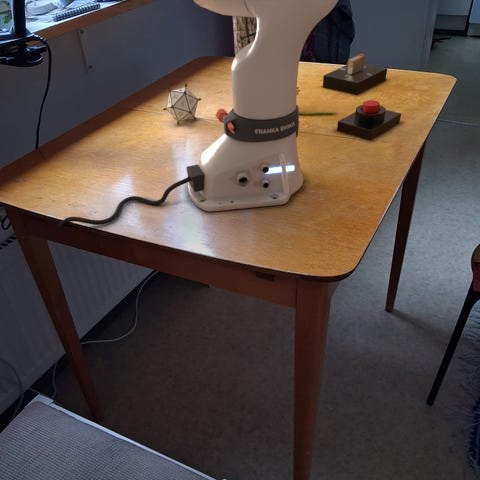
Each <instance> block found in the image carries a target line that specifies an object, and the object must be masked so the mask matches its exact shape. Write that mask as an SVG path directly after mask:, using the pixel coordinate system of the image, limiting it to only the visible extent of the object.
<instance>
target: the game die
mask: <svg viewBox="0 0 480 480" xmlns="http://www.w3.org/2000/svg"><path fill="white" fill-rule="evenodd" d="M166 90H167V92H168V97H167V101H166V107H164V108H163V109H162V111H167V112H168V113H169V114H170V115H171V116H172V117H173V118H174V119H175V120H176V124H177V126H179V125H180V122H183V121H187V120H190V119H193V120H196V121H197V117H196V116H195V115H196V111H197V108H198V105H199V104H198V103H199V102H200V101H201V100H202V98H201V97H199V98H197V96H196V95H195V94H194V93H193V92H192V90H190V89H189V88H188V83H187V82H186V83H185V84H184V86H183V87H179V88H175V89H171V88H167V89H166Z"/></svg>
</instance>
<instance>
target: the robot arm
mask: <svg viewBox="0 0 480 480" xmlns="http://www.w3.org/2000/svg"><path fill="white" fill-rule="evenodd" d="M193 2H194V3H195V4H196V5H197V6H199V7H201V8H204V9H206V10H208V11H211V12H213V13H217V14H220V15H222V16H232V17H233V16H243V17H254V18H256V19H257V30H256V36H255V39H254V41H253V42H251V43H250V44H248V45H247V46H245V47H244V48H242V49H241V50H240V51H239V52H238V53H237V55H236V56H234V58H233V60H232V63H231V66H230V73H231V74H230V76H231V90H232V91H231V92H232V105H233V107H232V108H231V110H230V111H229V112H227V111H226V109H224V108H219V109H218V110H217V111H216V114H215V117H216V119H217V120H218V122H219V123H221V124H223V132H222V133H221V134H220V135H219V136H218V137H217V138H215V140H214V141H213V142H212V143H211V144H209V146H208V147H206V148H205V149H204V150H203V151H202V152H201V154H200V155H199V158H198V163H197V164H194V165H187V166H185V167H186V175H187V177H185V178H182V179H180V180H179V181H176V182H174V183H173V184H171V185H170V186H168V187H167V188H166V189H165V191H164V193H163V194H162V196H161V198H159V199H158V200H151V199H148V198H145V197H143V196H140V195H139V196H138V195H135V196H134V195H132V196H128V197H125V198H124V199H122V200H121V201H120V202H119V203H118V205H117V206H116V208H115V210H114V213H112V215H111V216H109V217H107V218H104V219H90V218H86V217H82V216H81V217H80V216H68V217H65V218H64V219H62V220H61V221H60V223H58V225H57V227H58V228H63V227H65V225H67V224H68V223H71V222H77V223H83V224H87V225H93V226H95V225H96V226H101V225H102V226H103V225H107V224H110V223H111V222H113V221H115V220H116V219H117V218H118V217H119V215H120V214H121V212H122V209H123V207H124V206H125V205H126V204H127V203H130V202H134V201H135V202H136V201H137V202H141V203H144V204H146V205H150V206H160V205H162V204H163V203H165V201H166V200H167V198H168V196H169V194H170V193H171V192H172V191H173V190H175V189H177V188H178V187H181V186H182V185H186V184H187V192H188V195H189V198H190V199H191V201H192V202H193V204H194V205H195V206H197V208H199V209H201V210H203V211H205V212H219V211H221V212H222V211H230V210H239V209H241V210H242V209H249V208H259V207H261V208H262V207H269V206H280V205H284V204H287V203H288V202H289V200H290V198H291V196H292V195H294V194H295V193H296V192H297V191H298V190H300V188H301V187H302V186H303V184H304V177H303V174H302V170H301V166H300V159H299V153H298V139H297V138H298V136H299V130H300V129H299V128H300V115H299V113H300V112H299V106H298V104H297V95H296V94H297V90H298V89H297V87H298V76H299V66H300V61H301V56H302V51H303V49H304V46H305V44H306V41H307V39H308V38H309V36H310V35H311V32H312V31H313V30H314V28H315V27H316V26H317V24H318V23H319V22H321V20H323V19H324V18H325V17H327V16H328V14H330V13H331V12H332V10H333V9H334V8H335V6H336V5H337V4H338V2H339V0H193ZM298 112H299V113H298ZM96 360H97V362H98V365H99V367H100V370H101V371H104V370H105V368H106V367H105V366H104V364H103V359H102V358H101V356H98V357H96Z"/></svg>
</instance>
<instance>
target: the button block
mask: <svg viewBox="0 0 480 480" xmlns="http://www.w3.org/2000/svg"><path fill="white" fill-rule="evenodd" d="M362 109H363V104H360V105H358V106H357V107H355V111H354V112H352V113H350V114H349V115H347V116H345V117H343V118H341V119H339V120H337V125H336V126H337V127H336V131H337V132H339V133H342V134H346V135H350V136H354V137H356V138H360V139H363V140H367V141H372V140H374V139H376V138H377V137H379V136H380V135H383V134H385V133H386V132H387V131H389V130H391V129H392V128H394V127H396V126H397V125H399V124H400V122H401V117H402V113H401V112H397V111H394V110H388V109H386V107H385V106H383V105H379V111H378V112H375V113H367V112H363V111H362Z"/></svg>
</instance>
